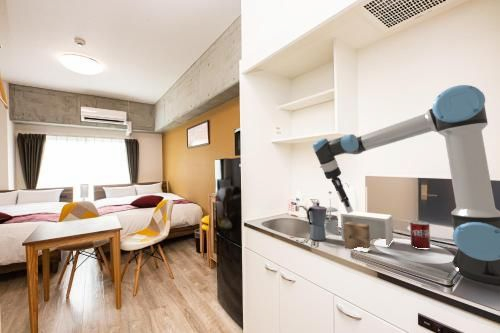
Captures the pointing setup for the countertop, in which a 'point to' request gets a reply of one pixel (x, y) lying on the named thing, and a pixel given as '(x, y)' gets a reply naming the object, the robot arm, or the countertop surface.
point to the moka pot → (317, 222)
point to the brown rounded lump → (356, 235)
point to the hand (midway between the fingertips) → (347, 206)
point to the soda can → (420, 234)
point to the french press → (331, 221)
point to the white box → (370, 224)
